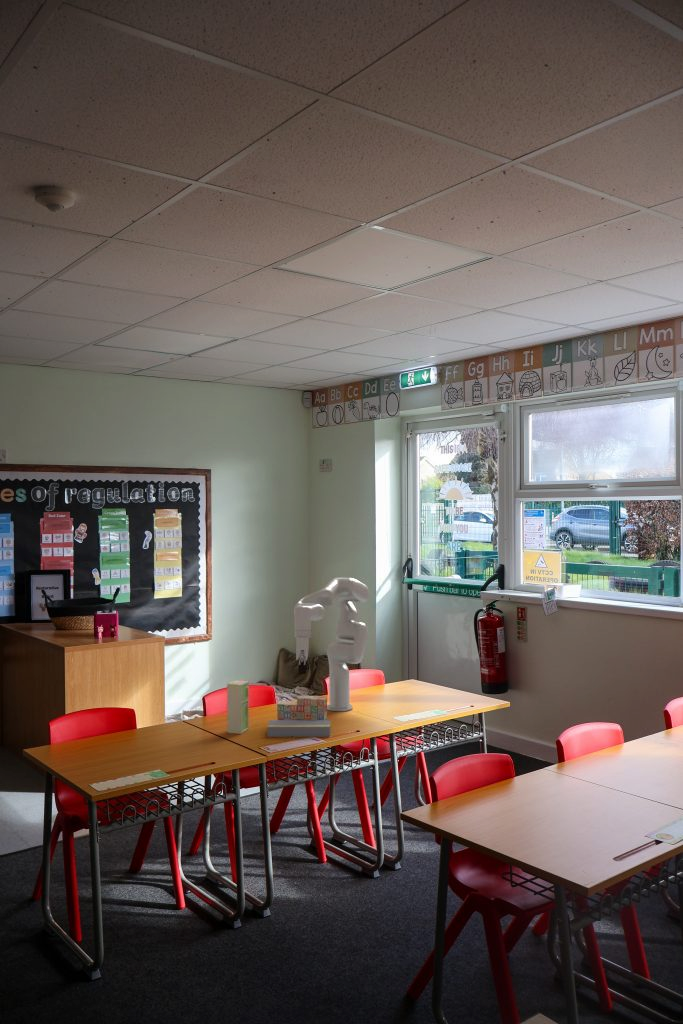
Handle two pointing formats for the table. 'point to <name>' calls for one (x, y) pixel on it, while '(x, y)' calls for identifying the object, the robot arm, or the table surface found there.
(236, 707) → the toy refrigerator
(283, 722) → the block
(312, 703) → the stack of blocks
